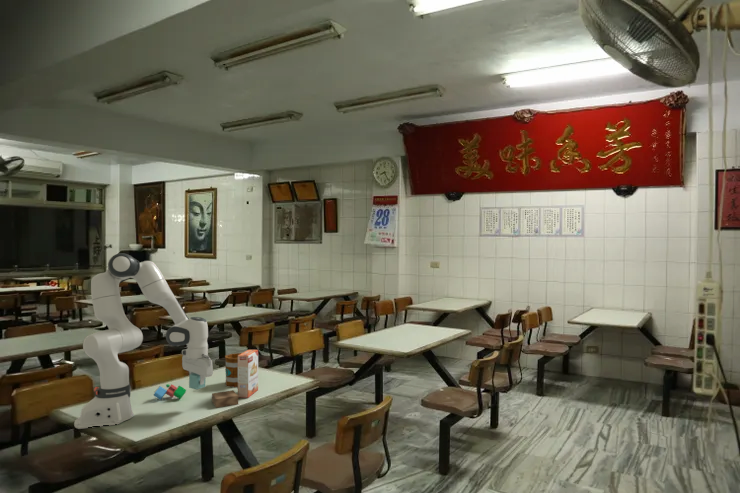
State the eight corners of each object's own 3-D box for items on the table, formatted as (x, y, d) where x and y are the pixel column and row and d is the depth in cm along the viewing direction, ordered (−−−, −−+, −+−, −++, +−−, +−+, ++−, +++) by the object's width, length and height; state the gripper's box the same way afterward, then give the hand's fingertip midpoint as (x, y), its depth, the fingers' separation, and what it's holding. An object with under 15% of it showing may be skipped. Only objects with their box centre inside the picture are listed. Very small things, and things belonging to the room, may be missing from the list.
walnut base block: (216, 407, 225) (216, 399, 225) (212, 401, 234) (211, 393, 234) (238, 404, 230) (238, 395, 230) (233, 398, 239) (233, 390, 239)
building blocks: (173, 408, 239) (152, 395, 238) (184, 395, 245) (164, 382, 244) (176, 403, 233) (154, 389, 233) (187, 389, 239) (166, 375, 239)
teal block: (189, 387, 224) (189, 374, 224) (198, 384, 228) (198, 372, 228) (196, 389, 221) (196, 376, 221) (205, 386, 226) (205, 373, 225)
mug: (220, 383, 265) (219, 355, 265) (243, 378, 274) (242, 351, 274) (237, 391, 250) (237, 361, 250) (260, 385, 259) (260, 357, 259)
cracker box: (249, 398, 238) (248, 355, 238) (237, 398, 239) (236, 355, 239) (259, 389, 252) (258, 349, 252) (248, 389, 253) (247, 349, 253)
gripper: (216, 355, 220) (216, 385, 220) (192, 348, 233) (191, 376, 233) (204, 357, 215) (203, 389, 216) (179, 350, 228) (179, 379, 229)
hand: (197, 382), depth 225 cm, fingers closed on teal block, 5 cm apart
